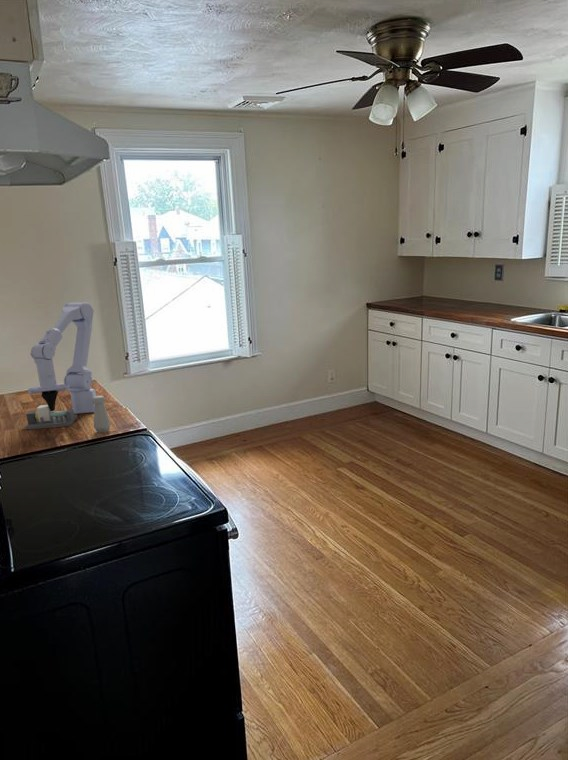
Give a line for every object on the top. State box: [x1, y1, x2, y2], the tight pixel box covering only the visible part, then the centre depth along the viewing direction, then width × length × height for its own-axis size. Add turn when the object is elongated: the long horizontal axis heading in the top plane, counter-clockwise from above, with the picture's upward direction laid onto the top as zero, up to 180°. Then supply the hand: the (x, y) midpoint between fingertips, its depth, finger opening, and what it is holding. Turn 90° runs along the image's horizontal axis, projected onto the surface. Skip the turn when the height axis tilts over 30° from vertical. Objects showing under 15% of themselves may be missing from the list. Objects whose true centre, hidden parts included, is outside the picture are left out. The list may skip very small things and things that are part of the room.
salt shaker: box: [92, 395, 112, 434], centre depth 192 cm, size 6×6×13 cm
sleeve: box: [36, 404, 53, 422], centre depth 205 cm, size 4×4×5 cm
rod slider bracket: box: [25, 408, 78, 430], centre depth 206 cm, size 16×10×5 cm, turn 97°
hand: (52, 410), depth 205 cm, fingers closed
